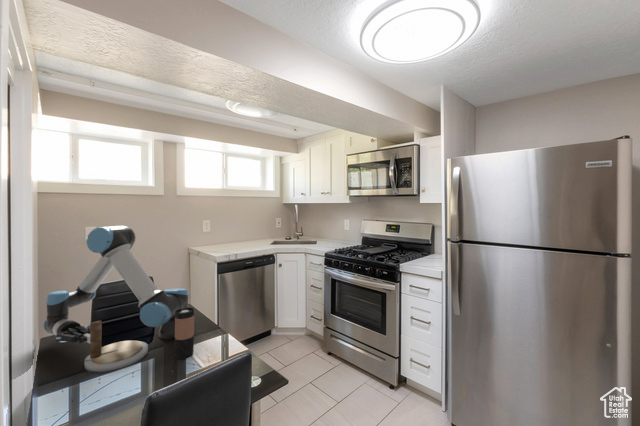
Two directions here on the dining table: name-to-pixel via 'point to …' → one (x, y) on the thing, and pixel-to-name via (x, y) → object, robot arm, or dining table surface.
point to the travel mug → (184, 333)
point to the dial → (110, 347)
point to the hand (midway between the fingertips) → (93, 340)
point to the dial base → (115, 365)
